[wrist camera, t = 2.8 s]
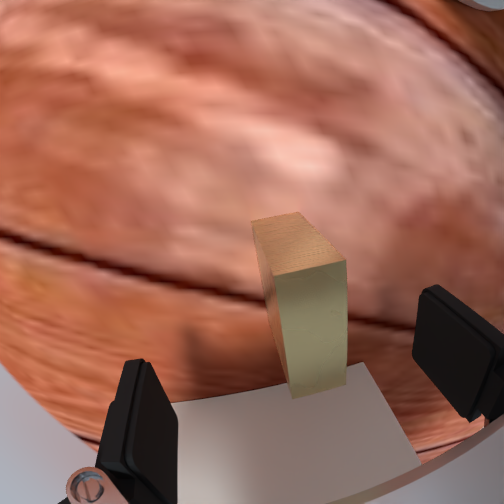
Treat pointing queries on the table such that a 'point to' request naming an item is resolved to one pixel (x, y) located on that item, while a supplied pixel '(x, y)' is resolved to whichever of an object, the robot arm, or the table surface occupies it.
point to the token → (304, 302)
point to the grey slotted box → (290, 445)
